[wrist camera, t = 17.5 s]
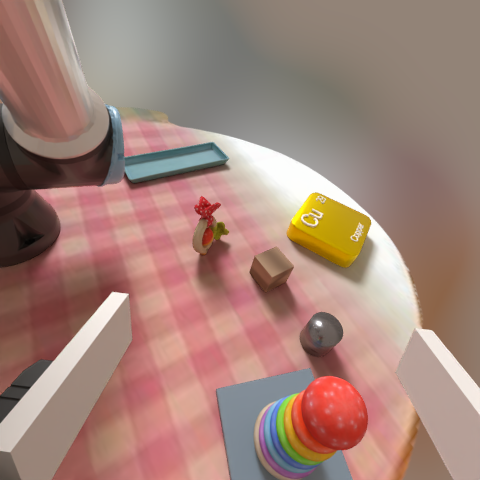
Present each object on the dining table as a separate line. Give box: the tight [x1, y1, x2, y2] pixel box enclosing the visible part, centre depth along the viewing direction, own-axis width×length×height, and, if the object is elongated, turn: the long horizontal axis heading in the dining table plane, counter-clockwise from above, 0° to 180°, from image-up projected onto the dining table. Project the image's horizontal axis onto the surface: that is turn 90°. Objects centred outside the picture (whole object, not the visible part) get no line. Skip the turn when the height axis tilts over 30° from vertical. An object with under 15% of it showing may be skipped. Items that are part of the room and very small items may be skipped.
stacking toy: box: [254, 376, 368, 480], centre depth 27 cm, size 8×8×19 cm
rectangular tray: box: [124, 142, 229, 183], centre depth 71 cm, size 26×9×2 cm, turn 123°
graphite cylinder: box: [300, 312, 343, 357], centre depth 43 cm, size 5×5×5 cm
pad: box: [216, 368, 353, 480], centre depth 35 cm, size 14×14×1 cm
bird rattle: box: [193, 196, 229, 255], centre depth 51 cm, size 6×11×9 cm
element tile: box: [287, 193, 371, 267], centre depth 61 cm, size 15×15×5 cm
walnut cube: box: [250, 247, 294, 293], centre depth 50 cm, size 5×5×5 cm
